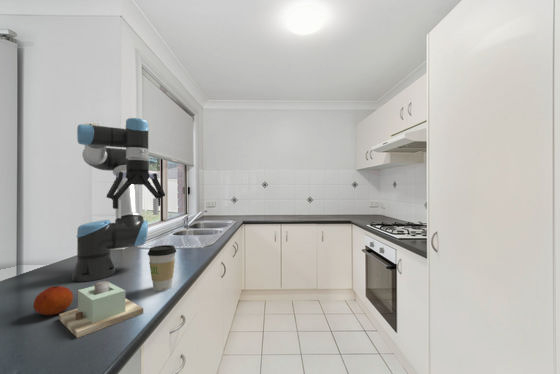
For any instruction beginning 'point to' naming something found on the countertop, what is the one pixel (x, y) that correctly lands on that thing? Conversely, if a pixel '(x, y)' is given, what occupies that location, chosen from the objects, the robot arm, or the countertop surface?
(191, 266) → the countertop surface
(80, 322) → the post base
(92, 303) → the green block with window
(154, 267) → the coffee cup
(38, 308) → the fruit
